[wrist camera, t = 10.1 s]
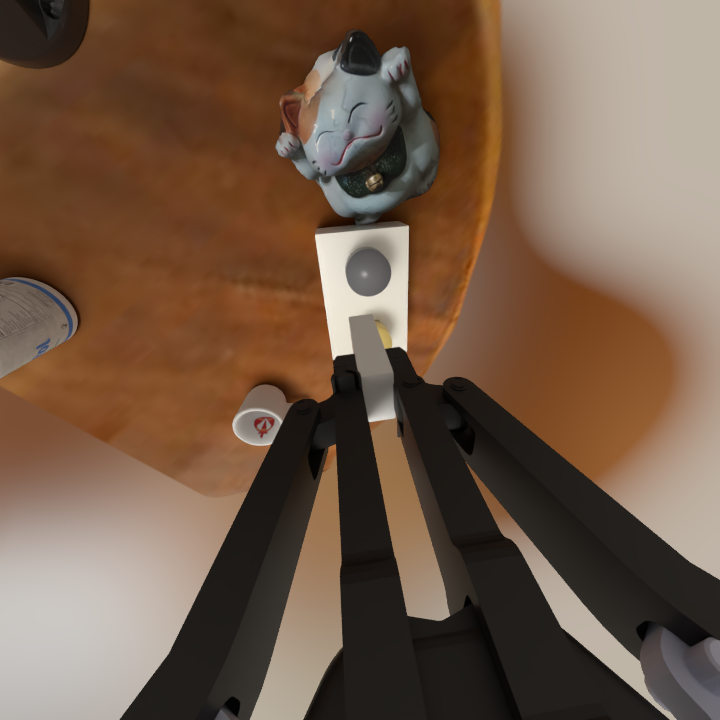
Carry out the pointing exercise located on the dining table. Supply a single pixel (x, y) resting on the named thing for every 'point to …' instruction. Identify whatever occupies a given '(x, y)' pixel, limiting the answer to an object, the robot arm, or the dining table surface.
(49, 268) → the dining table surface
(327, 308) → the mount
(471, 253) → the dining table surface
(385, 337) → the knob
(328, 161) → the lucky cat figurine
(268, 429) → the cup
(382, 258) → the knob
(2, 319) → the supplement tub
